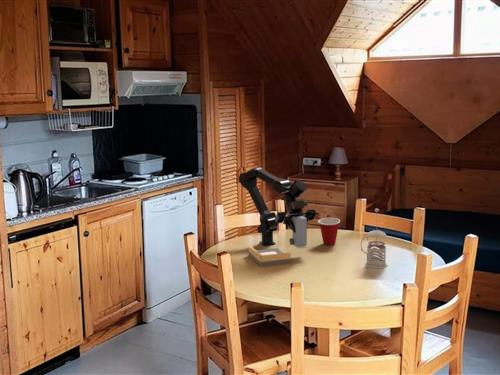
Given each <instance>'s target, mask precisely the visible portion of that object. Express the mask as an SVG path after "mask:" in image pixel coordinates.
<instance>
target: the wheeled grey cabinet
mask: <svg viewBox="0 0 500 375" xmlns="http://www.w3.org/2000/svg"><path fill="white" fill-rule="evenodd" d="M292 222H293V224H294V227H295V230H296V232H295V233H294V232H293V231H292V237H291V238H289V240H288V242H289V245H290V246H294V247H295V248H297V249H308V248H309V247H310V246H308V245H307V244H308V243H307V242H308V241H307V240H308V238H307V235H308V222H307V218H305V217H304V216H297V217H293V218H292Z"/></svg>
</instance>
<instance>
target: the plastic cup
mask: <svg viewBox="0 0 500 375" xmlns="http://www.w3.org/2000/svg"><path fill="white" fill-rule="evenodd" d="M317 223H318V224H319V228H320V233H321V238H322V243H323V245H325V246H334V245H336V242H337V237H338V229H339V225H340V223H341V220H340V219H339V218H336V217H324V218H319V219H318V220H317Z"/></svg>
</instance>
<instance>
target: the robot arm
mask: <svg viewBox="0 0 500 375" xmlns="http://www.w3.org/2000/svg"><path fill="white" fill-rule="evenodd" d="M258 179H259V180H261V181H263V182H264V183H266V184H267V185H270V186H271V188H272V189H273V191H275V193H277V194H282V196H281V198H280V201H283V202H284V203H285V206H286V207H285V208H286V209H285V211H278V212H277V213H275V211H273V212H272V211H270V210H269V208H268V206H267V204H266V201H265V199H264V198H263V196H262V193H260V190H259V188H258V186H257V185H258ZM238 182H239V183H240V185H241V186H242V188H244V189H245V190H247V192H248V194H249V195H250V198H251V200H252V201H253V204H254V205H255V208H256V210H257V212H258V215H259V225H258V226H257V227H256V230H257V232H258V233H260V234H261V241H259V244H261V245H262V246H271V245H272V246H273V245H276V242H275V241H274V232H276V231H277V230H278V226H279V224H283V225H286V226H287V227H288V228H289V229H290V230H291V231H292V233H293V232H294V233H295V232H296V230H295V227H294V224H293V217H297V216H304V217H305V218H307V223H308V222H309V221H313V220H314V219H315V218H316V216H317V214H318V213H317V211H316V208H315V209H314V208H310V209H308V208H307V209H306V211H305V212H303V209H304V208H305V207H307V206H308V201H307V199H306V198H303V199H301V200H298V198H300V197H301V196H303V194H304V193H306V191H307V190H308V186H307V183H304V182H303V181H301V180H300V179H295V180H294V182H291V181H290V180H288V179H285V178H280V177H278V176H275V175H274V174H272V173H270V172H269V171H266V170H265V169H263V168H262V167H261V166H260V167H253V168H252V169H250V170H248V171H246V172H242V173H240V174H239V176H238ZM286 211H287V212H286Z"/></svg>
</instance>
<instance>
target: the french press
mask: <svg viewBox="0 0 500 375" xmlns="http://www.w3.org/2000/svg"><path fill="white" fill-rule="evenodd" d="M379 211H380V209H379V208H375V209H374V212H376V218H375V221H376V224H375V225H376V226H375V227H376V229H375V230H372V231H371V230H370V231H369V232H367V234H366V235H367V236H364V237H363V238H362V239H361V241H360V244H362V243H363V241H364V240H365V239H366V241H368V242H367V244H368V245H367V247H366V248H367V252H366V251H365V250H364V249H363V247H362V246H360V250H361V251H363V253H364V254H365V255H366V262H365V264H364V266H365V267H367V268H370V269H385V268H388V266H389V265H388V263H387V262H386V254H387V250H386V249H387V247H386V243H385V242H384V241H380V240H377V238H384V237H386V236H387V234H386V233H385V232H384V231H381V230H379V229H378V212H379ZM369 237H371V238H376V239H375V240H373V241H372V240H371V241H369V240H368V239H369Z"/></svg>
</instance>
